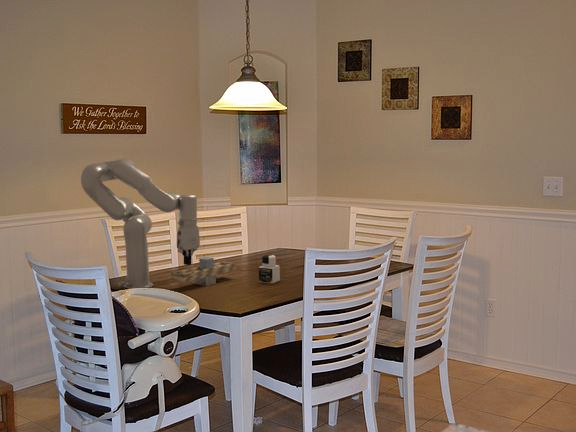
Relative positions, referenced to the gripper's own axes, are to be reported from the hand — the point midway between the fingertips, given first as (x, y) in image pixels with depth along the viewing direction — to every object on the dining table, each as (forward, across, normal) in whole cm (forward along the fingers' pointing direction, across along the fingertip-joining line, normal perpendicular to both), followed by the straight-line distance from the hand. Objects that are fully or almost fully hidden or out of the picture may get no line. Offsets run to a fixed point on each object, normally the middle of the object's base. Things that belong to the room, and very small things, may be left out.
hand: (187, 264), depth 311 cm
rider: (+3, +11, -1) cm, 11 cm away
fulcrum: (+10, +9, -1) cm, 14 cm away
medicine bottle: (+9, +29, -22) cm, 38 cm away
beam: (+6, +9, -1) cm, 11 cm away
